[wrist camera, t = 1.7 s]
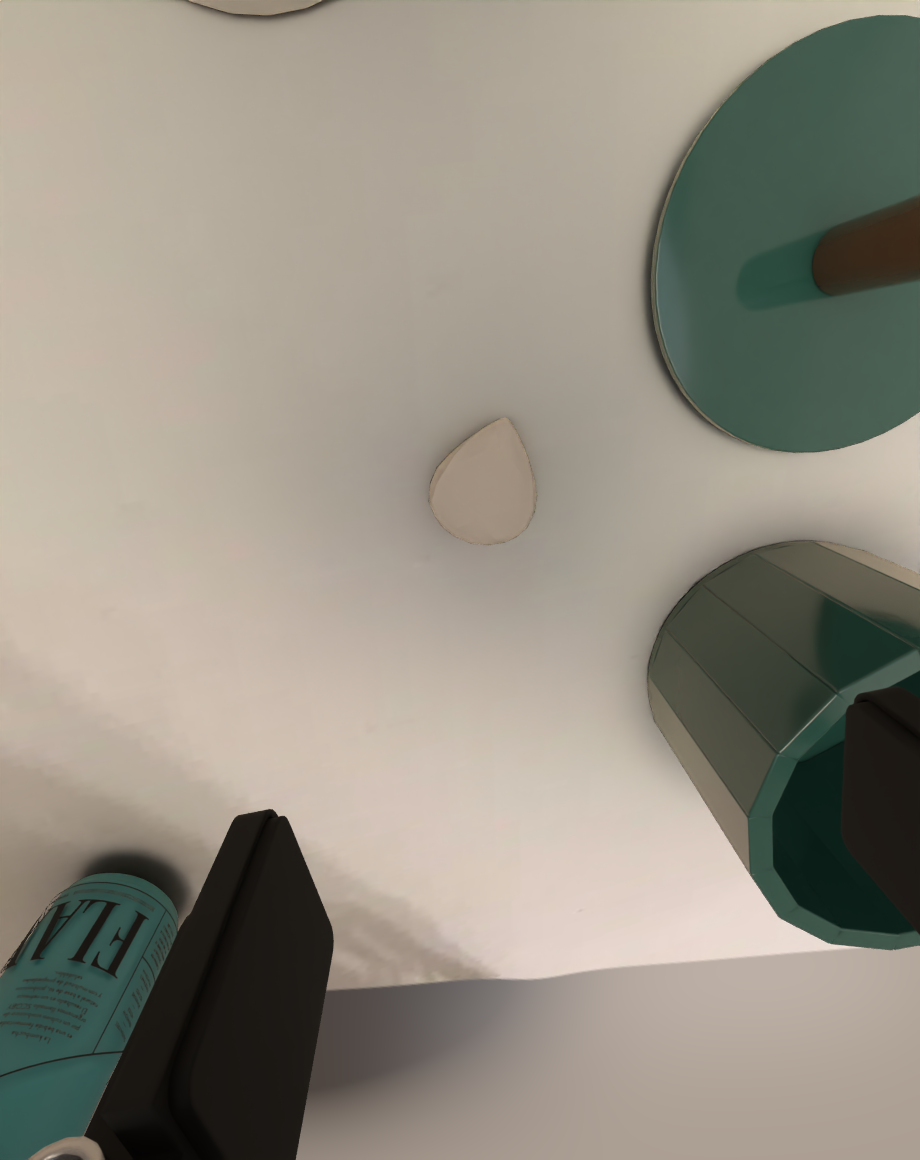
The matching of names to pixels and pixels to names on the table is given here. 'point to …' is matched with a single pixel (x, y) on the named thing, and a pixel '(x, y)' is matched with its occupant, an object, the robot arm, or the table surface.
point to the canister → (788, 717)
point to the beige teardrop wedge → (485, 487)
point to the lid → (801, 245)
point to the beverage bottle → (76, 1004)
